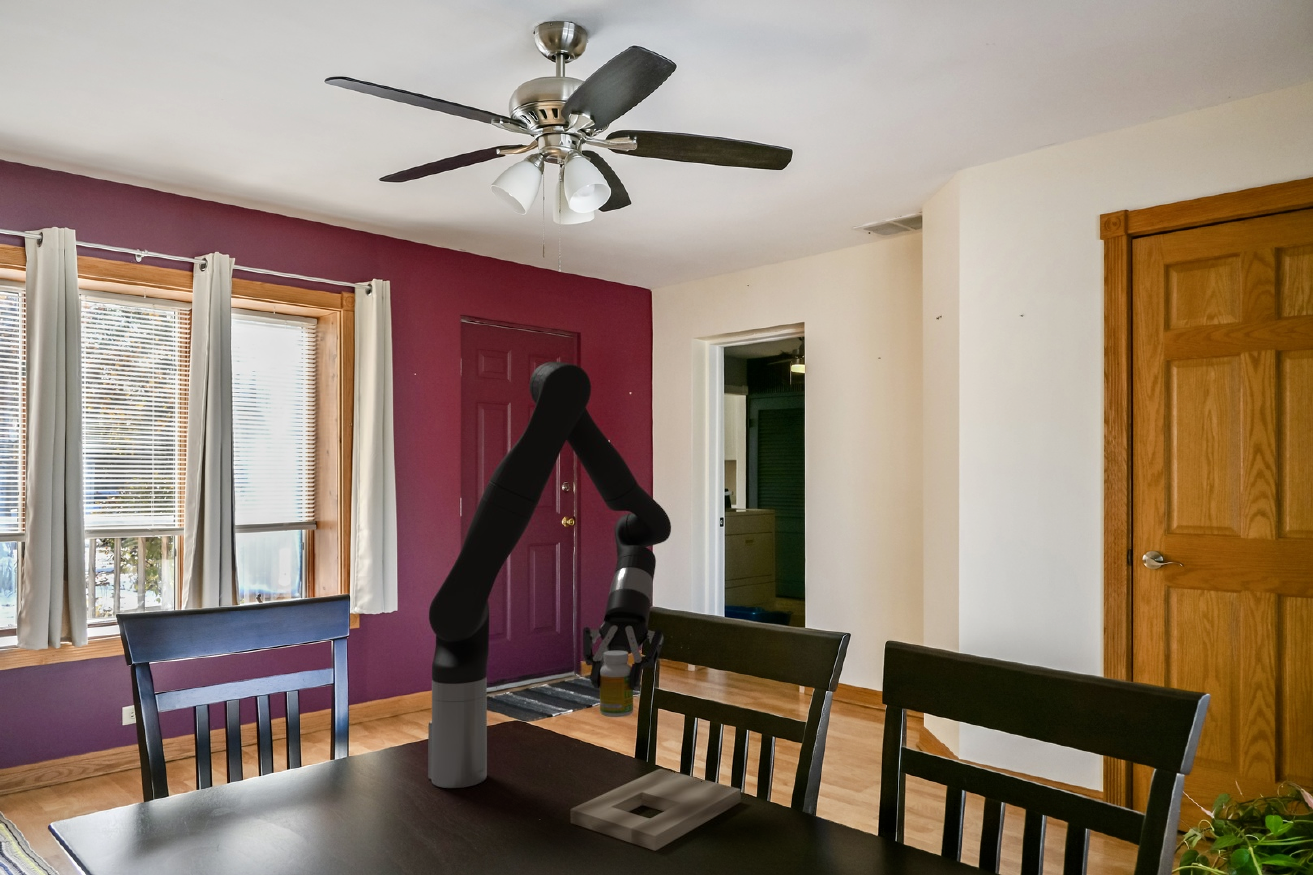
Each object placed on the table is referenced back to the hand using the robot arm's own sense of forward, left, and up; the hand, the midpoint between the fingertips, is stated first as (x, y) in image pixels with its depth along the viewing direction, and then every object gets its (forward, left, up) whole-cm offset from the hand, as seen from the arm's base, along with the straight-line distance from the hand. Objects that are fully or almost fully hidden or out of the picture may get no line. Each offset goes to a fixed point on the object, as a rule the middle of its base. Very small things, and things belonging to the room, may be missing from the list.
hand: (614, 686), depth 137 cm
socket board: (+8, +1, -18) cm, 20 cm away
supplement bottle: (-1, +2, -5) cm, 5 cm away
